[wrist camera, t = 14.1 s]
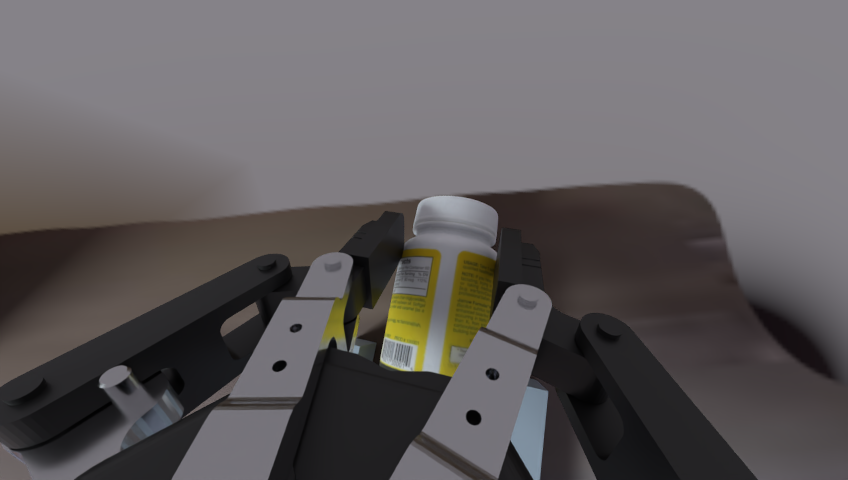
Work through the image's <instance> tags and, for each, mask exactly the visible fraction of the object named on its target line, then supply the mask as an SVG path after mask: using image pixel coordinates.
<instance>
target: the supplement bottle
mask: <svg viewBox="0 0 848 480" xmlns="http://www.w3.org/2000/svg"><path fill="white" fill-rule="evenodd" d="M413 227H414V228H413V233H414V234H415V235H416V237H414V238H411V239H409V240H408V241H407V242H406V243H405V244H404V250H403V254H402V258H401V260H400V262H399V264H398V268H397V273H396V279H395V284H394V289H393V294H392V299H391V305H390V310H389V315H388V320H387V325H386V331H385V336H384V341H383V347H382V352H381V358H380V363H379V366H381V367H383V368H385V369H387V370H390V371H430V372H434V373H438V374H442V375H446V376H451V377H453V375H454V373H455V371H456V369H457V368H458V366H459V364H460V362H461V361H462V359H463V357H464V355H465V353H466V352H467V350H468V348H469V346H470V344H471V343H472V341H473V339H474V337H475V336H476V334H477V332H478V330H479V329H480V328H481V327H484V328H486V326H487V325H488V323H489V319H490V309H491V299H492V288H493V278H494V270H495V263H496V257H497V252H496V251H494V250H493V249H492V248H491V247H492V246H494V245H495V243H496V237H497V227H498V214H497V212H496V211H495V210H494V209H493V208H492V207H490V206H489V205H487V204H485V203H482V202H480V201H477V200H473V199H469V198H465V197H457V196H434V197H430V198H426V199H424V200H422V201H421V202H420V203H419V205H418V208H417V212H416V217H415V221H414V224H413Z"/></svg>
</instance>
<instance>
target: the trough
mask: <svg viewBox="0 0 848 480" xmlns="http://www.w3.org/2000/svg"><path fill="white" fill-rule="evenodd" d="M376 344H377V343H375V342H371V341H367V340H363V339H358V338H356V340H355V345H354V349H353V353H356V354H359V355H361V356H363V357H365V358H366V359H368V360H370V361H372V362H373V358H374V353H375V349H376ZM547 400H548V390H546V389H545V388H544V387H543V386H542V385H541V384H540V383H539V382H538V381H537V380H534V379H529V382H528V385H527V388H526V391H525V395H524V398H523V401H522V404H521V407H520V411H519V414H518V417H517V420H516V423H515V426H514V430H513V433H512V436H511V439H510V440H511V442H512V444H513V445H514V447H515V449H516V451H517V452H518V454H519V456H520V457H521V459H522V461H523V463H524V464H525V466H526V468H527V469H528V471H529V473H530V474H531V476H532V478H533V480H540V472H541V462H542V451H543V441H544V431H545V420H546V410H547Z"/></svg>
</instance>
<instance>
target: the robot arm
mask: <svg viewBox="0 0 848 480" xmlns="http://www.w3.org/2000/svg"><path fill="white" fill-rule="evenodd" d="M403 250H404V216H403V214H402V213H395V212H388V211H385V212H384V213H383V214H382V216H381V217H380V218H379V219H378V220H377V221H373V220H372V221H370V222H368V223H366V224H364V225H363V226H362V227H361V228H360V229H359V230H358V231H357V233H355V235H354V236H353V238H351V239H350V240H349V241H348V242H347V243H346V244H345V246H344V247H343V248H342V249H341V250H340V251H339V252H334V253H328V254H324V255H322V256H320V257H318V258H317V259H315V260H314V262H313V263H312V265H311V266H305V267H291V266H290V262H289V259H288V258H287V257H286V256H284V255H281V254H268V255H263V256H260V257H258V258H255V259H253V260H251V261H249V262H247V263H245V264H243V265H241V266H239V267H237V268H235V269H233V270H231V271H229V272H227V273H225V274H223V275H221V276H219V277H217V278H215V279H213V280H211V281H209V282H207V283H205V284H203V285H201V286H199V287H197V288H195V289H193V290H191V291H189V292H187V293H185V294H183V295H181V296H179V297H177V298H175V299H173V300H171V301H169V302H167V303H165V304H163V305H161V306H159V307H157V308H155V309H153V310H151V311H149V312H147V313H145V314H143V315H141V316H139V317H137V318H135V319H133V320H131V321H129V322H127V323H125V324H123V325H121V326H119V327H117V328H115V329H113V330H111V331H109V332H107V333H105V334H103V335H101V336H99V337H97V338H95V339H93V340H91V341H89V342H87V343H85V344H83V345H81V346H79V347H77V348H75V349H73V350H71V351H69V352H67V353H65V354H63V355H61V356H59V357H57V358H55V359H53V360H51V361H49V362H47V363H45V364H43V365H41V366H39V367H37V368H35V369H33V370H31V371H29V372H27V373H25V374H23V375H21V376H19V377H17V378H15V379H13V380H11V381H9V382H8V383H6V384H5V385H3V386H2V387H0V442H1V443H2V447H3V448H4V449H5V450H6V451H8V452H9V453H10V454H12V455H13V456H14V457H16V458H17V459H19V460H20V461H21V462H23V463H24V464H25V465H26V466H27V469H28V471H29V474H30V476H31V478H32V480H533V478H532V476H531V474H530V473H529V471H528V469H527V468H526V466H525V464H524V463H523V461H522V459H521V457H520V456H519V454H518V452H517V451H516V449H515V447H514V445H513V444H512V442H511V440H510V439H511V436H512V433H513V430H514V426H515V423H516V420H517V417H518V414H519V411H520V407H521V404H522V401H523V398H524V395H525V391H526V388H527V385H528V382H529V379H530V375H533V376H535V377H537V378H539V379H541V380H543V381H545V382H547V383H549V384H551V385H552V386H554V387H556V392H557V394H558V396H559V399H560V401H561V403H562V405H563V407H564V409H565V412H566V414H567V416H568V418H569V420H570V422H571V425H572V427H573V429H574V431H575V433H576V435H577V438H578V440H579V442H580V444H581V446H582V448H583V451H584V453H585V455H586V457H587V459H588V461H589V464H590V466H591V468H592V470H593V472H594V474H595V477H596V479H597V480H758V479H757V478H756V477H755V476H754V475H753V473H752V472H751V471H750V470H749V469H748V467H747V466H746V465H745V464H744V463H743V461H742V460H741V459H740V458H739V457H738V456H737V454H736V453H735V452H734V451H733V450H732V448H731V447H730V446H729V445H728V444H727V442H726V441H725V440H724V439H723V438H722V437H721V435H720V434H719V433H718V432H717V431H716V429H715V428H714V427H713V426H712V425H711V423H710V422H709V421H708V420H707V419H706V417H705V416H704V415H703V414H702V413H701V412H700V410H699V409H698V408H697V407H696V406H695V404H694V403H693V402H692V401H691V400H690V398H689V397H688V396H687V395H686V394H685V393H684V391H683V390H682V389H681V388H680V387H679V385H678V384H677V383H676V382H675V381H674V379H673V378H672V377H671V376H670V375H669V373H668V372H667V371H666V370H665V369H664V368H663V366H662V365H661V364H660V363H659V362H658V360H657V359H656V358H655V357H654V356H653V354H652V353H651V352H650V351H649V350H648V349H647V347H646V346H645V345H644V344H643V343H642V341H641V340H640V339H639V338H638V337H637V335H636V334H635V333H634V332H633V331H632V330H631V329H630V328H629V327H628V326H627V325H626V324H625V323H623V322H622V321H620V320H618V319H616V318H614V317H612V316H609V315H605V314H600V313H590V314H587V315H585V316H584V317H582V319H581V321H580V320H577V319H575V318H573V317H570V316H568V315H565V314H563V313H561V312H560V311H558V310H556V309H555V308H554V307H553V306H552V302H551V299H550V298H549V296H548V295H547V294H546V293H545V292H544V287H543V279H542V271H541V263H540V254H539V251H538V250H537V249H536V248H535V246H534V245H533V244H528V243H521V230H516V229H509V228H502V230H501V235H500V241H499V246H498V252H497V257H496V263H495V270H494V278H493V288H492V299H491V309H490V319H489V323H488V325H487V326H486V328H484V327H481V328H480V329H479V330H478V332H477V334H476V336H475V337H474V339H473V341H472V343H471V344H470V346H469V348H468V350H467V352H466V353H465V355H464V357H463V359H462V361H461V362H460V364H459V366H458V368H457V369H456V371H455V373H454V375H453V377H451V376H446V375H442V374H438V373H434V372H430V371H390V370H387V369H385V368H383V367H381V366H379V365H377V364H376V363H374V362H372V361H370V360H368V359H366V358H365V357H363V356H361V355H359V354H356V353H353V349H354V345H355V340H356V335H357V330H358V326H359V321H360V317H359V312H360V311H361V309H362V307H364V308H369V309H373V308H374V306H375V304H376V303H377V301H378V299H379V297H380V295H381V294H382V292H383V290H384V288H385V287H386V285H387V283H388V281H389V280H390V278H391V276H392V274H393V273H394V271H395V269H396V267H397V265H398V264H399V262H400V260H401V258H402V254H403ZM254 302H256V304H257V307H258V310H259V314H258V315H256V316H255V317H253V318H252V319H250V320H248V321H247V322H245V323H244V324H242V325H241V326H239V327H238V328H236V329H234V330H233V331H231V332H230V333H228V334H227V335H225V336H224V337H222V336H221V333H220V329H221V326H222V324H223V323H224V322H225V321H226V320H227V319H228V318H229V317H231V316H233V315H234V314H236V313H238V312H239V311H241V310H242V309H244V308H246V307H247V306H249V305H251V304H252V303H254ZM241 373H242V374H241ZM239 374H241V376H240V378H239V379H238V381H237V383H236V385H235V387H234V389H233V390H232V392H231V393H230V394H228V395H226V396H225V397H223V398H221V399H219V400H217V401H215V402H213V403H211V404H209V405H207V406H206V407H204V408H202V409H200V410H198V411H196V412H194V413H192V414H190V415H188V416H187V417H185V418H183V417H184V416H186V415H187V414H188V413H190V412H191V411H192V410H194V409H195V408H196V407H197V406H199V405H200V404H201V403H203V402H204V401H205V400H207V399H208V398H209V397H211V396H212V395H213V394H215V393H216V392H217V391H218V390H220V389H221V388H222V387H224V386H225V385H226V384H228V383H229V382H230V381H232V380H233V379H234V378H235V377H237V376H238V375H239ZM182 418H183V419H182ZM180 419H181V420H180Z"/></svg>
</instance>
